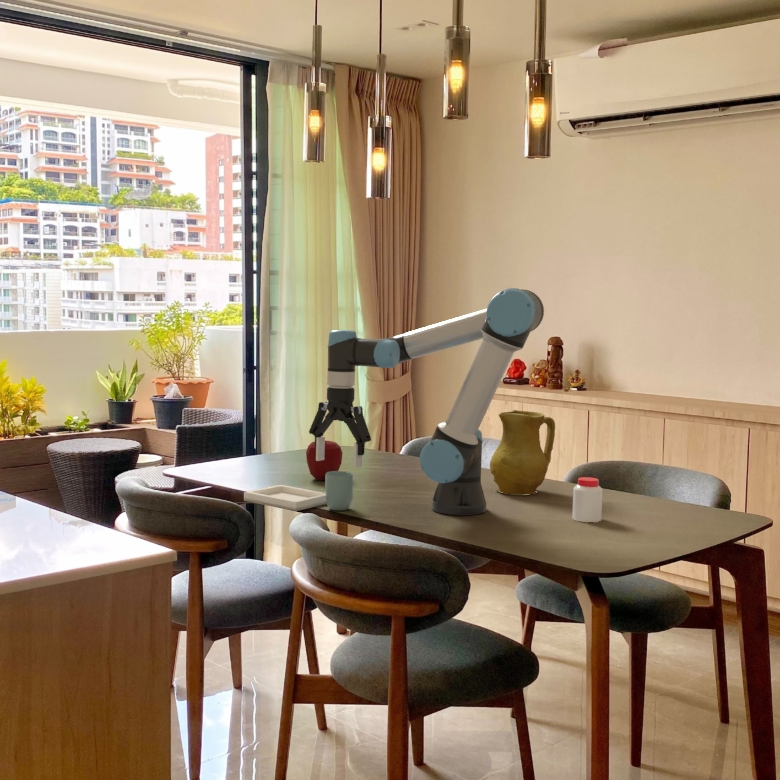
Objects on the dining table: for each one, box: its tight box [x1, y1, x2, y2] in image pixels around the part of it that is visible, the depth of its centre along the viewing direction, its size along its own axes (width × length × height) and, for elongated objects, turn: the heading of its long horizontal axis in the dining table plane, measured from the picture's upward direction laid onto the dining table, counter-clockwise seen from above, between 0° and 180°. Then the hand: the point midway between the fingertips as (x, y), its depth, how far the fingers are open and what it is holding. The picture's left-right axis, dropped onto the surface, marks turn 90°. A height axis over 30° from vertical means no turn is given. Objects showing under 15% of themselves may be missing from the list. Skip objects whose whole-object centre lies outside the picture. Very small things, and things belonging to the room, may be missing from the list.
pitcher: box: [489, 409, 556, 495], centre depth 298 cm, size 17×19×25 cm
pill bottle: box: [571, 476, 604, 523], centre depth 264 cm, size 8×8×11 cm
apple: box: [305, 440, 343, 481], centre depth 313 cm, size 12×12×13 cm
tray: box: [243, 484, 327, 512], centre depth 278 cm, size 20×15×2 cm
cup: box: [324, 470, 355, 512], centre depth 270 cm, size 8×8×10 cm
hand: (338, 463), depth 269 cm, fingers open, 13 cm apart
